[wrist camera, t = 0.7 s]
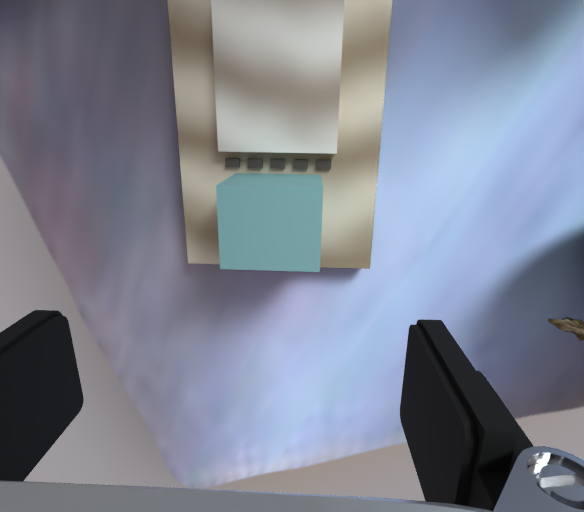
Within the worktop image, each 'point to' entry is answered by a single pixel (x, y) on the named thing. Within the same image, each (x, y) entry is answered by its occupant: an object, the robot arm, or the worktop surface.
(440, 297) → the worktop surface
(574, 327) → the pitcher
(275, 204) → the block
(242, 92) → the ticket board
